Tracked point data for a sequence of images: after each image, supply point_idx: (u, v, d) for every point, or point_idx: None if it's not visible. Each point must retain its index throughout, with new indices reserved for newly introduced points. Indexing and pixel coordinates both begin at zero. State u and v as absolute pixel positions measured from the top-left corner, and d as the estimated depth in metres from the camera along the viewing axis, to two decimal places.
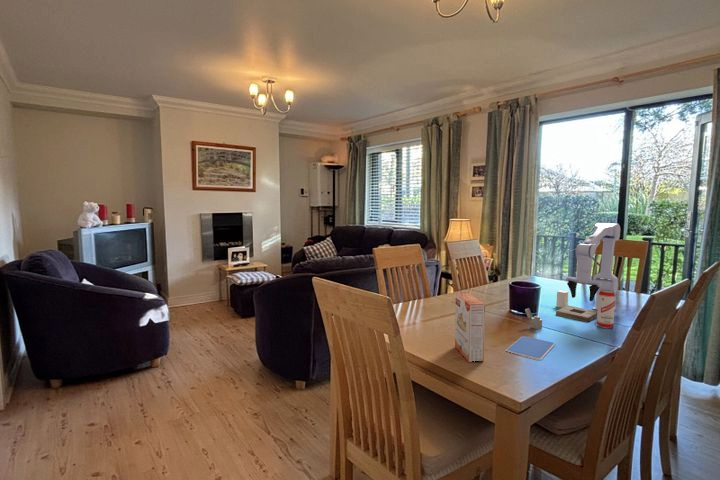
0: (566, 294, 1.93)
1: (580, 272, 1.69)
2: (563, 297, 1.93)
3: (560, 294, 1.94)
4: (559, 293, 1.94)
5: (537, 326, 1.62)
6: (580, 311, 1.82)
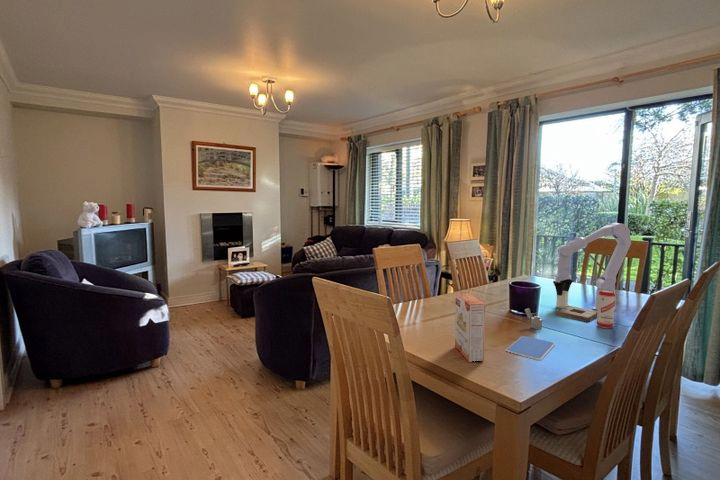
0: (566, 294, 1.93)
1: None
2: (563, 297, 1.93)
3: None
4: None
5: (537, 326, 1.62)
6: (580, 311, 1.82)
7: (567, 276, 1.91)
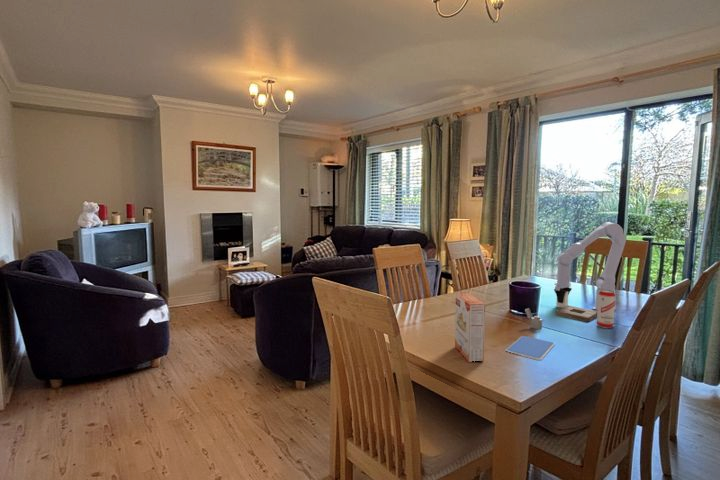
0: (566, 294, 1.93)
1: None
2: None
3: None
4: None
5: (537, 326, 1.62)
6: (580, 311, 1.82)
7: (567, 284, 1.91)
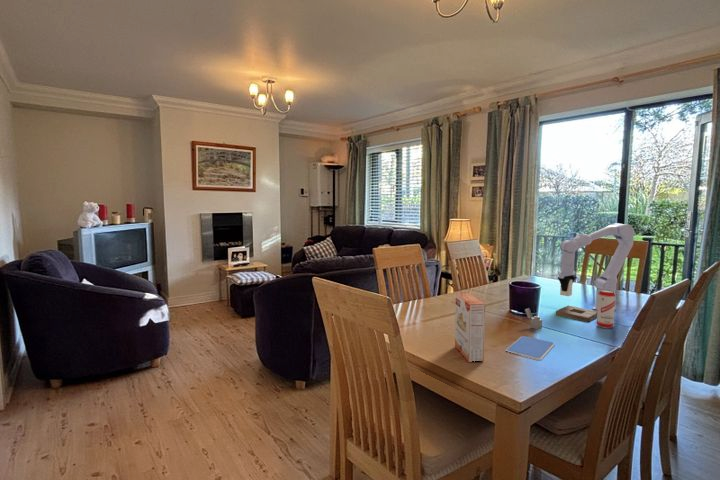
0: (570, 282, 1.89)
1: None
2: None
3: None
4: None
5: (537, 326, 1.62)
6: (580, 311, 1.82)
7: (571, 272, 1.87)
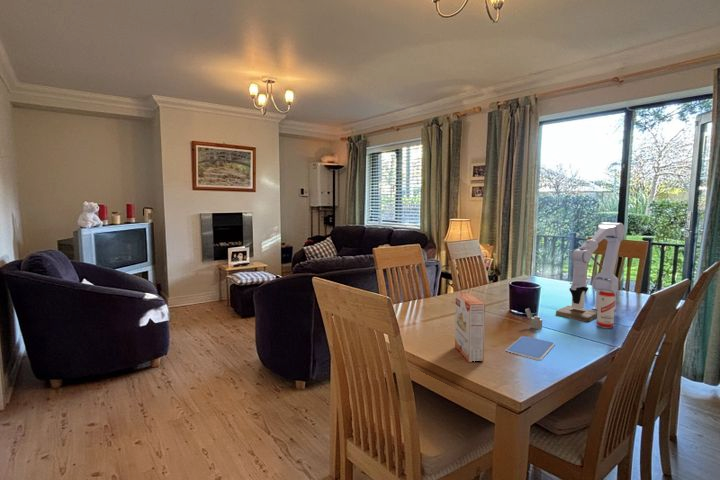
0: (582, 294, 1.78)
1: None
2: None
3: None
4: None
5: (537, 326, 1.62)
6: (580, 311, 1.82)
7: (583, 283, 1.76)
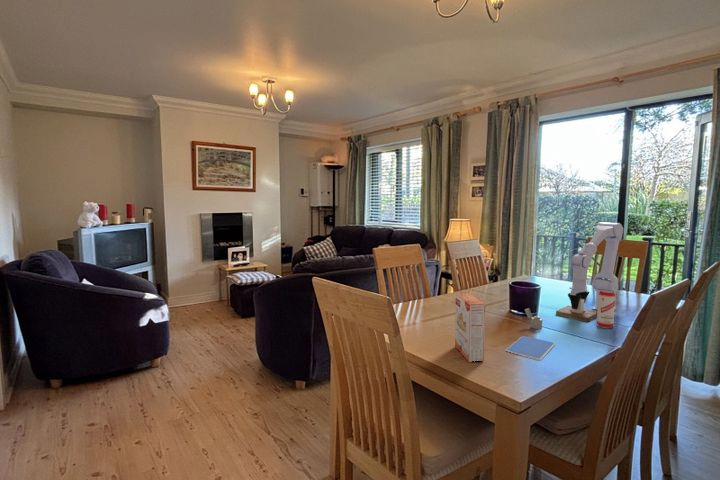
0: (582, 302, 1.78)
1: None
2: (579, 305, 1.78)
3: None
4: None
5: (537, 326, 1.62)
6: None
7: (583, 288, 1.76)
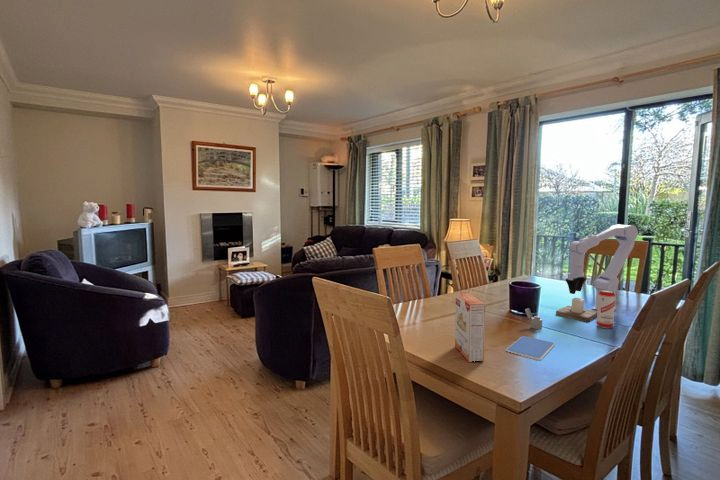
0: (582, 302, 1.78)
1: None
2: (579, 305, 1.78)
3: (575, 302, 1.79)
4: (574, 301, 1.79)
5: (537, 326, 1.62)
6: None
7: (580, 274, 1.83)
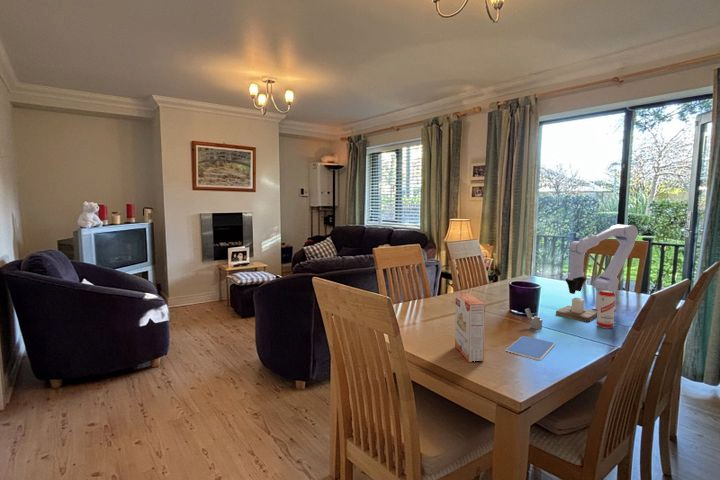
0: (582, 302, 1.78)
1: None
2: (579, 305, 1.78)
3: (575, 302, 1.79)
4: (574, 301, 1.79)
5: (537, 326, 1.62)
6: None
7: (580, 273, 1.83)
